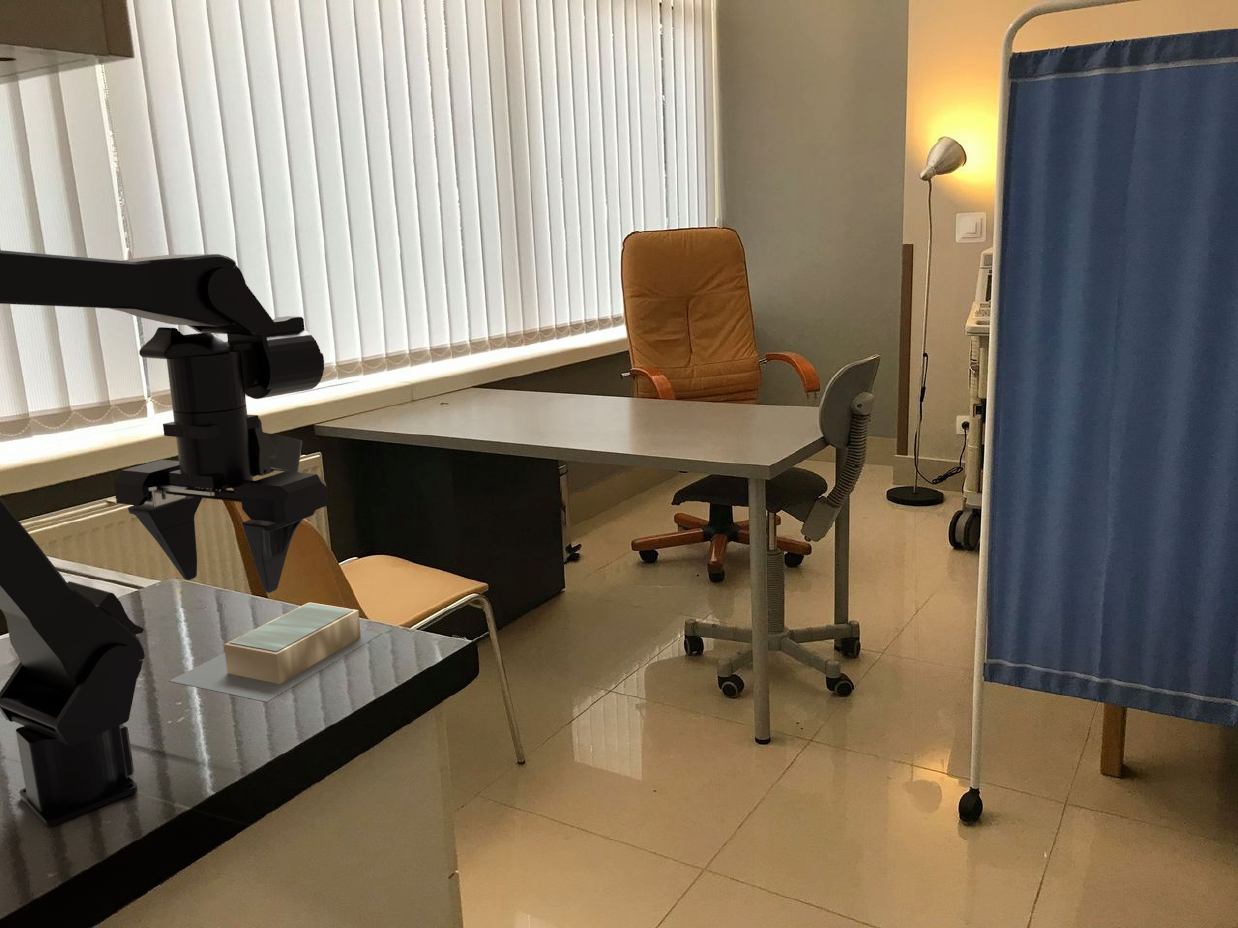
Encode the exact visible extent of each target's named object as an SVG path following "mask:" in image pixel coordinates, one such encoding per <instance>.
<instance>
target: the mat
mask: <svg viewBox="0 0 1238 928" xmlns="http://www.w3.org/2000/svg"><path fill="white" fill-rule="evenodd" d="M360 634H361V637H360V638H359V639H357V640H355V641H353V642H352V643H350V644H348V645H346V646H345V647H343V648H341V649H340V650H338V651H336V652H334V653H333V654H331V655H329V656H327V657H326V658H324V659H322V660H321V661H319V662H317V663H315V664H314V665H312V666H310V667H308V668H307V669H305V670H303V671H301V672H300V673H298V674H296V675H295V676H293V677H291V678H289V679H288V680H286V681H284V682H282V683H281V684H277V683H272V682H267V681H262V680H257V679H253V678H248V677H243V676H238V675H233V674H228V673H227V665H226V657H225V652H224V653H221V654H220V655H218V656H215V657H213V658H212V659H209V660H208V661H206V662H204V663H202V664H200V665H197V666H195V667H194V668H192V669H190V670H188V671H186V672H184V673H182V674H179V675H178V676H176V677H174V678H172V679H169V682H171V683H175V684H179V685H185V686H190V687H195V688H198V689H203V690H206V691H207V690H209V691H212V692H213V691H214V692H217V693H221V694H227V695H232V696H236V697H241V698H245V699H250V700H253V701H254V700H255V701H260V702H265V703H268V702H269V701H271V700H273V699H274V698H276V697H278V696H280V695H281V694H283V693H284V692H287V691H288V690H290V689H291V688H293V687H295V686H298V684H300V683H301V682H303V681H305V680H307V679H309V678H310V677H312V676H314V675H315V674H317V673H318V672H320V671H322V670H323V669H325V668H327V667H328V666H330V665H332V664H334V663H335V662H337V661H339V660H341V659H342V658H344V657H345V656H347V655H349V654H350V653H352V652H354V651H355V650H356V649H359V648H360V647H362V646H364V645H366V644H367V643H369V642H370V641H372V640H374V639H376V638H377V637H379V636H380V635H382V634H383V633H382V632H376V631H372V630H371V631H370V630H365V629H360Z"/></svg>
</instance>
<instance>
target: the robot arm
mask: <svg viewBox="0 0 1238 928" xmlns="http://www.w3.org/2000/svg"><path fill="white" fill-rule="evenodd" d="M0 305H16V306H17V305H21V306H22V305H23V306H26V305H27V306H43V307H44V306H46V307H63V308H64V307H67V308H69V307H70V308H72V307H73V308H88V309H89V308H91V309H92V308H93V309H94V308H95V309H109V310H114V311H118V312H123V313H126V314H129V315H131V316H134V317H138V318H141V319H147V320H150V321H153V322H154V321H155V322H160V323H164V324H168V325H175V326H178V325H179V326H188V327H189V328H190V329H192V330H194V331H195V332H197V333H190V334H189V333H188V334H183V333H182V332H180V331H179V329H178V328H176V327H167V326H166V327H164V326H163V327H162V326H160V327H157V329H156V331H155V333H154V334H153V336H152V337H151V338H150V339H149V340H148V341H147V342H146V343H145V344H144V345H143V346H142V347H141V348H140V349H139V356H140V357H141V358H145V359H146V358H147V359H159V360H166V366H167V372H168V373H167V374H168V383H169V391H170V398H171V399H170V400H171V407H172V414H173V421H170V422H166V423H162V428H163V436H164V437H171V438H172V437H174V438H176V439H175V440H176V446H177V457H178V460H169V459H159V460H155V461H151V462H148V463H143V464H140V465H135V466H133V467H128V468H124V469H121V470H120V471H119V473H118V475H117V477H116V478H115V480H114V482H113V486H114V487H113V488H114V494H115V495H114V496H115V500H116V501H115V502H116V504H120V505H129V506H128V507H127V511H128V513H129V514H130V515H134V516H135V517H136V518H137V519H138V520H139V521H140V523H141V524H142V525H143V526H144V528H145V529H146V530H147V532H149V534H150V535H151V536H152V537H153V538H154V540H155V541H156V542H157V544H158V545H159V546H160V548H161V550H163V552H164V553H165V554H166V556H167V557H168V559H169V560H170V561H171V563H172V564H173V566H174V567H175V569H177V571H178V572H179V574H180V576H181V577H182V578H183V579H184V580H185V581H190V580H194V579H195V578H196V577H197V575H198V552H197V550H198V549H197V540H196V526H195V515H196V513H197V511H198V508H199V507H200V504H201V502H202V500H203V499H209V500H219V501H227V502H236V503H241V510H242V511H243V512H244V514H246V515H247V517H248V518H249V520H245V521H241V525H242V528H243V532H244V534H245V537H246V541H247V544H248V547H249V550H250V553H251V554H250V555H251V557H252V559H253V563H254V567H255V570H256V572H257V573H256V574H257V576H258V579H259V580H260V584H261V585H262V588H263V590H264V592H265V593H267V594H270V593H271V594H272V592H275V591H276V590H277V589H278V588H279V584H280V582H281V581H280V580H281V576H282V573H283V569H284V566H285V562H286V560H287V559H286V558H287V556H288V551H289V547H290V545H291V542H292V539H293V537H294V533H295V532H296V529H297V528H298V527H299V525H300V524H301V523H302V522H303V520H305V519H308V518H310V517H313V516H314V515H315V514H316V512H317V511H318V510H319V509H322V508H325V507H327V506H329V502H328V491H327V490H328V489H327V483H326V481H325V480H324V479H323V478H322V477H321V476H320V475H318V473H310V472H309V473H308V472H300V471H299V467H300V461H301V453H302V446H303V440H301V439H297V438H292V437H289V436H283V435H279V434H275V433H270V432H269V433H268V432H264V431H263V426H262V425H263V424H262V420H261V418H259V415H258V414H248V408H247V401H246V396H247V397H249V398H251V399H254V400H260V399H265V398H271V397H277V396H282V395H287V394H294V393H298V392H304V391H310V390H313V389H314V388H316V387H317V386H318V385H319V384H320V383H321V381H322V378H323V375H324V371H325V358H324V354H323V352H321V348H320V346H319V344H318V342H317V340H316V339H315V338H314V336H313V335H312V334H311V333H310V332H309V331H307V330H306V329H305V320H304V318H303V316H292V315H291V316H290V315H289V316H280V317H279V316H278V317H275V318H272V317H271V315H270V314H269V312H268V311H267V310H266V309H265V307H264V306H263V305H262V303H261V302H260V301H259V300H258V298H257V297H256V296H255V294H254V293H253V291H252V290H251V288H250V287H249V286H248V285H247V283H246V280H245V277H244V275H243V273H242V271H241V269H240V268H239V267H238V265H237V262H236V261H235V260H234V259H233V258H230V257H229V256H226V255H224V254H219V253H216V254H215V253H213V254H212V253H210V254H208V253H207V254H205V253H204V254H202V253H200V254H198V253H197V254H194V253H193V254H164V255H155V256H153V255H152V256H144V257H143V256H142V257H136V258H130V259H129V258H128V259H124V260H123V259H122V260H118V259H117V260H116V259H107V258H105V259H104V258H96V257H95V258H93V257H84V256H83V257H82V256H71V255H60V254H59V255H58V254H49V253H48V254H47V253H36V252H23V251H14V250H13V251H12V250H1V249H0ZM216 334H217V335H216ZM219 334H220V335H227V341H224V340H223V339H222V338H220V336H218V335H219ZM275 471H276V472H279V473H275V474H273V475H269V474H271V473H274V472H275ZM266 475H269V476H266ZM256 476H258V477H261V476H266V477H263V478H260V479H256V480H254V477H256ZM0 610H1V612H2V613H3V615H4V617H5V620H6V626H7V631H8V636H9V642H10V644H11V646H12V648H13V650H14V652H15V653H16V655H17V657H18V659H19V663H18V665H17V666H16V667H15V669H14V671H12V673H11V675H10V676H9V678H8V680H6V682H5V684H4V685H3V687H2V688H1V689H0V713H1V714H2V715H3V716H2V717H4V719H5V720H6V721H9V722H11V723H13V722H14V723H17V724H19V725H22V726H20V727H17V728H16V729H15V734H16V740H17V747H18V753H19V758H20V762H21V763H20V764H21V768H22V769H21V770H22V775H23V780H24V781H23V782H24V786H25V787H24V788H22V789H20V791H19V797H20V799H21V800H22V802H24V803H25V805H26V806H27V807H28V808H29V809H30V810H31V811H32V813H34V814H35V816H37V817H38V818H39V819H40V821H42V823H43V824H45V825H46V826H49V827H51V826H55V825H58V824H61V823H63V822H65V821H68V820H70V819H72V818H75V817H78V816H81V815H83V814H85V813H88V812H90V811H92V810H95V809H99V808H100V807H103V806H106V805H107V804H110V803H112V802H115V801H117V800H118V801H119V799H123V798H125V797H128V796H130V795H132V794H134V793H136V792H138V789H139V788H138V784H137V782H135V781H134V780H133V779H132V778H131V777H130V776H132V775H133V774H134V772H135V769H134V762H133V755H132V749H131V740H130V734H129V728H128V726H126V725H125V724H126V723H127V722H129V720H130V716H131V710H132V706H133V702H134V701H133V700H134V696H135V695H134V694H135V691H136V685H137V680H138V678H139V677H140V674H141V671H142V666H143V662H144V660H145V658H146V652H145V647H144V645H143V643H142V641H141V639H140V638H139V637H138V636H137V635H139V634H143V632H144V631H145V629H144V628H143V627H141V626H140V625H137V624H135V622H133V621H132V620H131V619H130V618H129V616H128V615H127V612H126V611H125V608H124V607H123V604H122V602H121V601H120V599H119V598H118V597H117V596H116V595H115V593H114V592H111V591H110V592H109V591H106V590H102V589H100V588H96V587H92V586H89V585H84V584H81V583H77V582H74V581H71V580H70V581H66V579H65V578H64V576H63V575H62V574H61V573H60V572H59V570H58V569H57V567H55V566H54V564H53V563H52V561H51V560H50V559H49V558H48V556H47V555H46V553H44V551H43V550H42V549H41V547H40V546H39V545H38V544H37V542H36V541H35V539H33V537H32V536H31V534H29V532H28V531H27V529H26V528H25V527H24V525H23V524H22V523H21V522H20V521H19V520H18V518H17V517H16V516H15V514H14V513H13V512H12V510H11V509H10V508H9V507H8V505H7V504H6V503H5V501H4V500H3V498H1V497H0Z"/></svg>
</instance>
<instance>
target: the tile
mask: <svg viewBox="0 0 1238 928" xmlns="http://www.w3.org/2000/svg"><path fill="white" fill-rule="evenodd" d="M360 630H361V623H360V612H359V609H354V608H353V609H352V608H346V607H341V606H334V605H329V604H328V605H327V604H323V603H321V604H320V603H315V602H307V603H305V604H303V605H301V606H299V607H296V608H295V609H293V610H290V611H289V612H287V613H285V614H283V615H281V616H279V617H276V618H274V619H273V620H270V621H268V622H266V623H264V624H263V625H261V626H259V627H256V628H254V629H252V630H251V631H248V632H246V633H244V634H242V635H240V636H238V637H237V638H234V639H232V640H230V641H227V642H226V643H224V644H223V647H224V653H225V657H226V665H227V673H228V674H233V675H238V676H243V677H248V678H253V679H257V680H262V681H267V682H272V683H277V684H281V683H282V682H284V681H286V680H288V679H289V678H291V677H293V676H295V675H296V674H298V673H300V672H301V671H303V670H305V669H307V668H308V667H310V666H312V665H314V664H315V663H317V662H319V661H321V660H322V659H324V658H326V657H327V656H329V655H331V654H333V653H334V652H336V651H338V650H340V649H341V648H343V647H345V646H346V645H348V644H350V643H352V642H353V641H355V640H357V639H359V638H360V637H361V634H360Z"/></svg>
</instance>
